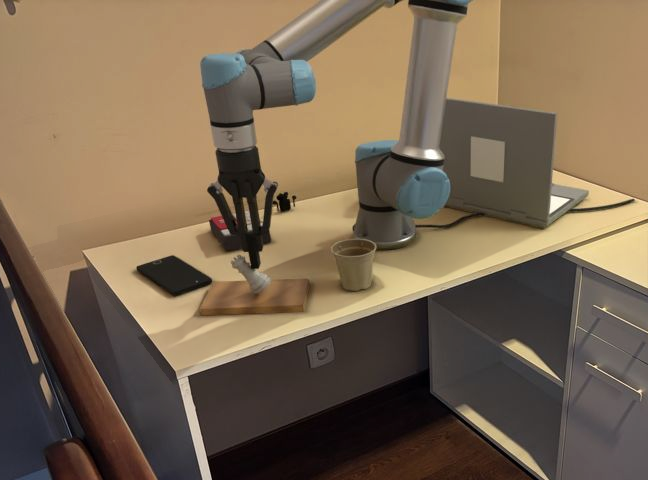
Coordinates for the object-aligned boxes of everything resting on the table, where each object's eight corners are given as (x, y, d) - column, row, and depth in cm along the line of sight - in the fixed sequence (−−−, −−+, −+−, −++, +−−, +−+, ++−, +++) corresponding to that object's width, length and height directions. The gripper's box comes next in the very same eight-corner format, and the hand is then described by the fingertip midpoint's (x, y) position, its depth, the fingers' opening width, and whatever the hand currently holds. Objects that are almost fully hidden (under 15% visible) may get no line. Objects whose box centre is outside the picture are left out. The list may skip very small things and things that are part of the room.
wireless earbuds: (275, 214, 180) (272, 196, 177) (270, 212, 182) (268, 193, 179) (298, 208, 184) (296, 190, 181) (293, 206, 186) (291, 188, 183)
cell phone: (173, 258, 157) (172, 254, 156) (213, 282, 146) (212, 278, 145) (136, 270, 151) (135, 266, 151) (174, 296, 141) (173, 292, 140)
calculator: (251, 208, 174) (269, 224, 162) (254, 224, 176) (271, 242, 164) (207, 216, 169) (222, 234, 158) (211, 233, 171) (226, 251, 160)
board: (309, 284, 145) (309, 278, 145) (304, 311, 135) (303, 304, 135) (214, 287, 144) (213, 281, 143) (201, 315, 134) (199, 308, 133)
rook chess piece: (275, 277, 138) (247, 248, 134) (264, 292, 136) (235, 263, 132) (262, 282, 141) (234, 254, 137) (251, 297, 138) (222, 269, 134)
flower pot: (335, 275, 149) (331, 239, 144) (379, 274, 150) (376, 237, 145) (333, 295, 141) (329, 257, 136) (378, 294, 142) (376, 255, 137)
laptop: (587, 199, 189) (599, 92, 174) (546, 231, 170) (555, 113, 155) (479, 178, 205) (481, 78, 190) (430, 204, 186) (428, 96, 171)
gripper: (194, 153, 120) (218, 275, 132) (269, 152, 121) (286, 273, 133) (204, 142, 126) (226, 259, 139) (275, 140, 127) (291, 257, 139)
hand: (256, 265), depth 136 cm, fingers closed
